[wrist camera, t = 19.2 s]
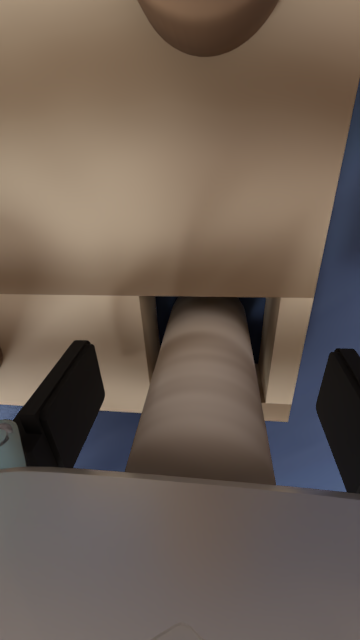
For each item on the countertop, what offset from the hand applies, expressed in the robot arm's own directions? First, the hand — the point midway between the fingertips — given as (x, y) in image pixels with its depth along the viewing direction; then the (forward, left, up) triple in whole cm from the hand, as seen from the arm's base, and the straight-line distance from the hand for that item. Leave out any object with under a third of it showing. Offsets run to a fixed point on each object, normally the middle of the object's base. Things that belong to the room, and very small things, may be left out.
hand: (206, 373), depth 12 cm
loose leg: (0, 0, -4) cm, 4 cm away
